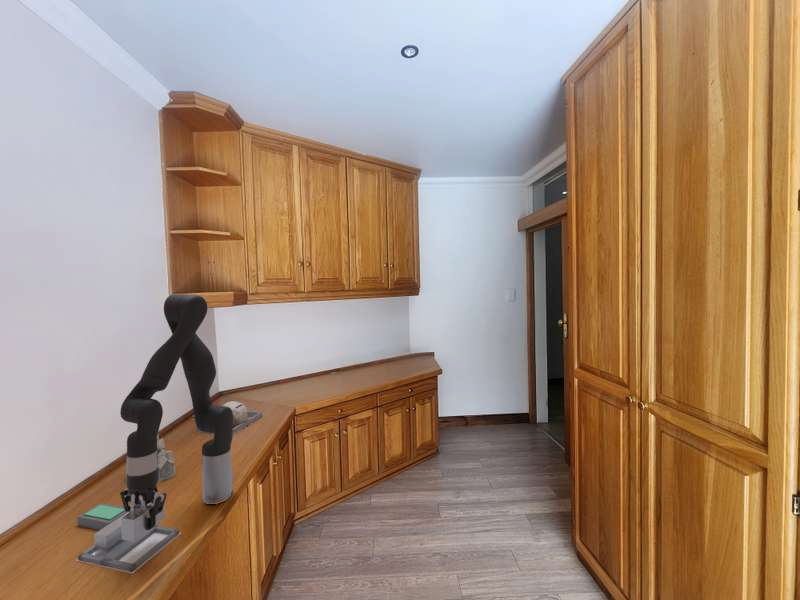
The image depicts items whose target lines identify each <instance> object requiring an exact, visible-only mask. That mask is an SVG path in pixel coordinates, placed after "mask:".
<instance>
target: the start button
mask: <svg viewBox="0 0 800 600" xmlns="http://www.w3.org/2000/svg"><path fill="white" fill-rule="evenodd" d="M98 505H99V504H98ZM124 511H125V509H120V508H115V507H109V506H104V505H99V506H98V507H96V508H94V509H93V510H91V511H89V512H87V511H86V512H87V513H86V514H84V515H85V516H88V517H93V518H99V519H104V520H109V521H110V520H112V519H113V518H115V517H116V516H118V515H120V514H121V513H123V512H124Z"/></svg>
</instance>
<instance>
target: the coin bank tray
mask: <svg viewBox="0 0 800 600" xmlns="http://www.w3.org/2000/svg"><path fill="white" fill-rule="evenodd" d="M247 412H248V417H250V418H247V421H245V422H243V423H241V424H240V425H238V426H236V427H235V428H233V433H235V432H236V433H238V432H240V431H241V430H243V429H245V428H246V427H248V426H249V425H251V424H253V423H254V422H256V421H257V419H258V420H260V419H261V418H262V417H263V412H262V411H250V410H247ZM252 416H253V417H252ZM260 417H261V418H260ZM255 420H256V421H255ZM252 422H253V423H252ZM250 423H251V424H250ZM247 425H248V426H247ZM244 427H245V428H244ZM242 428H243V429H242ZM240 429H241V430H240ZM239 430H240V431H239ZM237 431H238V432H237ZM195 432H196V433H200V432H202V431H200V430H199V429H198V428H197V426H196V427H195ZM236 433H235V434H236ZM202 434H208V433H207V432H203V433H202ZM211 435H214V433H211Z"/></svg>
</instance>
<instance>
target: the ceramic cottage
mask: <svg viewBox="0 0 800 600" xmlns="http://www.w3.org/2000/svg"><path fill="white" fill-rule="evenodd" d="M165 449H166V445H165V442H164V438H160V436H159V433H158V434H157V452H158V460H159V480H158V482H157V483H160V482H165V481H166V480H168V479H171V478H173V477H175V476H176V473H177V472H176V464H175V461H176V460H175V456H174V453H173V450H165ZM124 479H125V481H126V477H124Z"/></svg>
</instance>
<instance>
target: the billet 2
mask: <svg viewBox="0 0 800 600" xmlns="http://www.w3.org/2000/svg"><path fill="white" fill-rule="evenodd" d="M150 503H151V502H150ZM150 503H149V504H150ZM149 504H147V505H149ZM151 511H152V508H150V512H151ZM146 518H147V517H146V512H145V510H143V508H142V505H141V506H139V507H137V508H136V509H135V510H133V511H131V512H130V513H128V514H127V515H125V516H124V517H122V518H121V528H122V540H127V541H133V542H135V541H136V540H137V539H138V538H140V537H141V536H142V535H144V534H145V533H146V532H148V531H149V530H147V529H146ZM164 519H165V505H164V506H163V510H162V511H161V512H160V513H159V514H157V515H156V524H155V525H157V526H158V524H160V522H162V521H163V520H164Z"/></svg>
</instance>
